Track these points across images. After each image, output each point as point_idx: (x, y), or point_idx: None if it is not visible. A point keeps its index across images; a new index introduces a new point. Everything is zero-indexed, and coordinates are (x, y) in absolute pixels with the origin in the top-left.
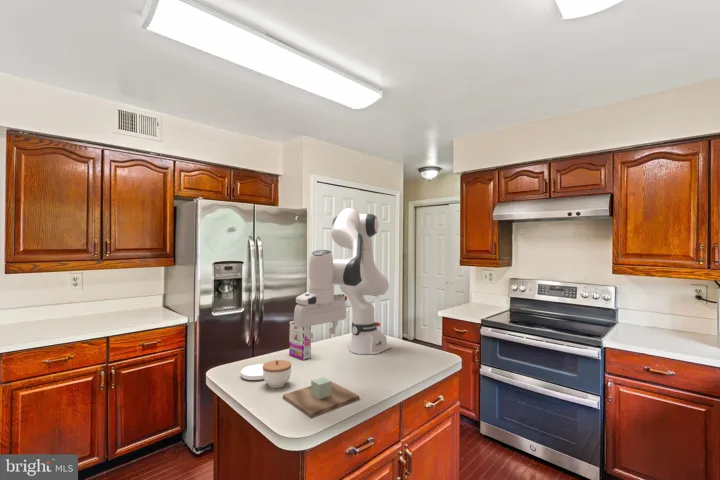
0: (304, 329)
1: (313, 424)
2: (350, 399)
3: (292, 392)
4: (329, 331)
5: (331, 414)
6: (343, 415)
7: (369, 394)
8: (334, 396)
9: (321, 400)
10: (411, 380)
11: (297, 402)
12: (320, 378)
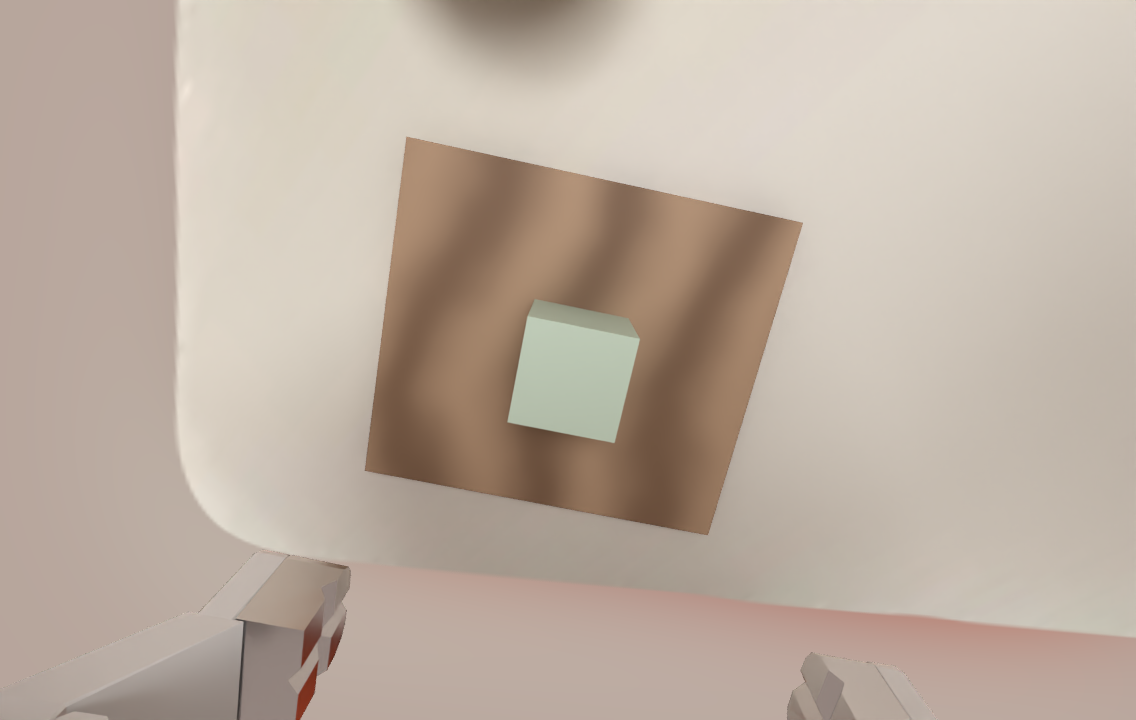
0: (41, 681)
1: (339, 515)
2: (639, 521)
3: (476, 164)
4: (828, 682)
5: (469, 517)
6: (502, 567)
7: (789, 531)
8: None
9: None
10: (1109, 611)
11: (401, 311)
12: (602, 345)
